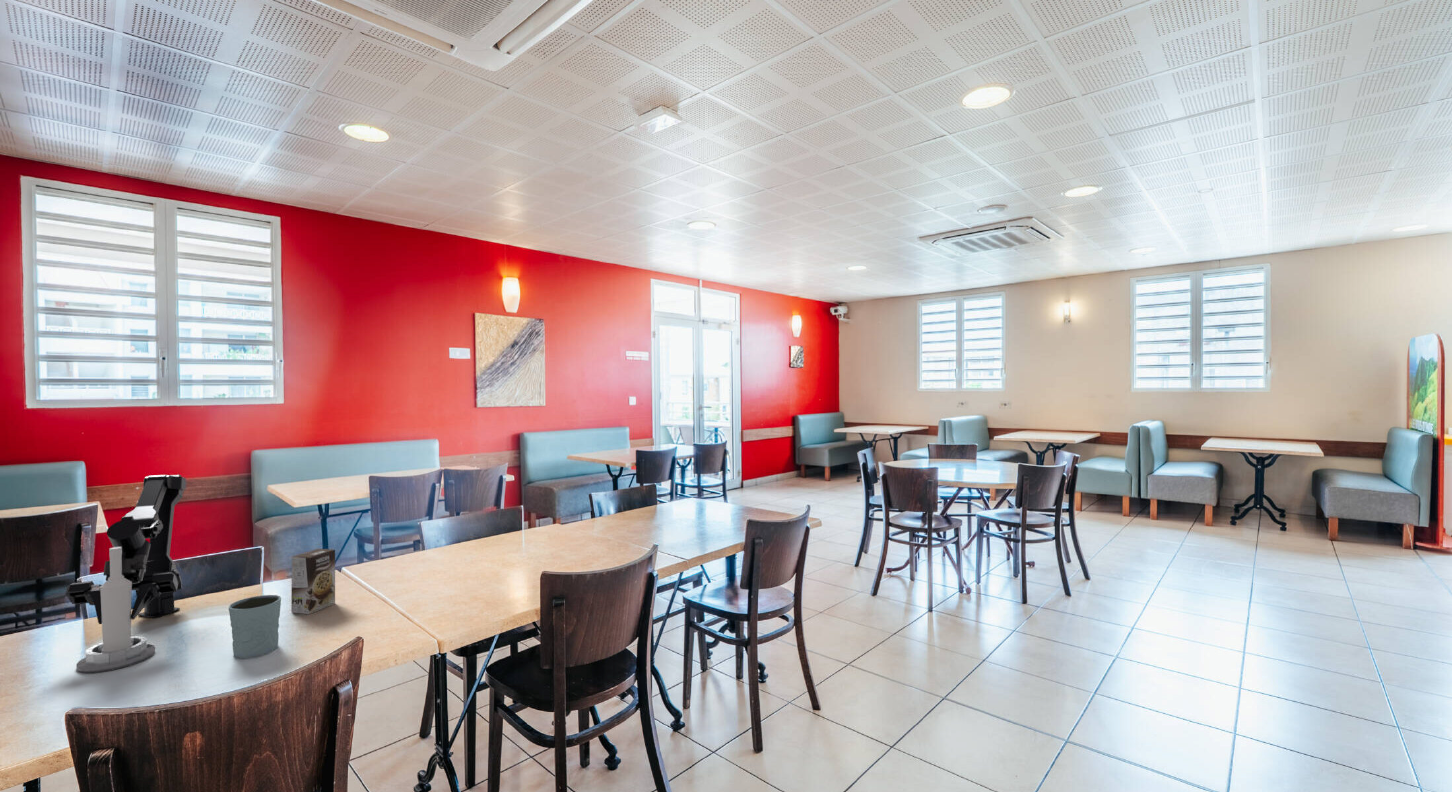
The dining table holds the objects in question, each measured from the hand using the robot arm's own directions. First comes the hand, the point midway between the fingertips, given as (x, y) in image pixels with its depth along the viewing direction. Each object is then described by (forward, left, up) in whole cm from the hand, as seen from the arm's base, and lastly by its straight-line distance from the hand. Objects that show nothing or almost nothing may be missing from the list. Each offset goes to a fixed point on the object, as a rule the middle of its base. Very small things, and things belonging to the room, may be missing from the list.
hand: (116, 621), depth 142 cm
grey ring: (0, 0, -9) cm, 9 cm away
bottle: (0, 0, -8) cm, 8 cm away
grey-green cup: (+26, +12, -9) cm, 30 cm away
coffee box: (+15, +38, -9) cm, 42 cm away
